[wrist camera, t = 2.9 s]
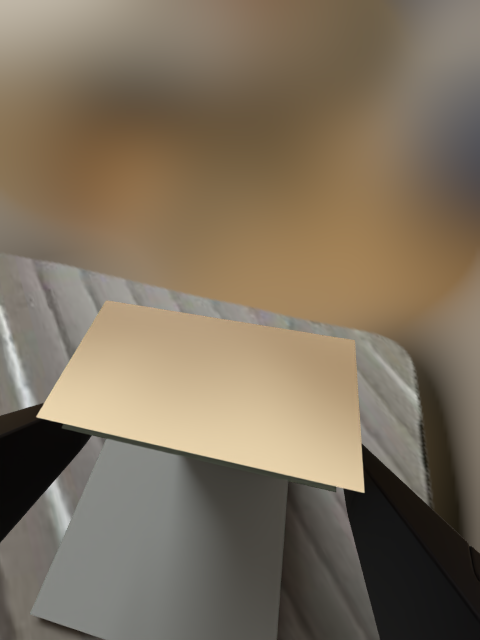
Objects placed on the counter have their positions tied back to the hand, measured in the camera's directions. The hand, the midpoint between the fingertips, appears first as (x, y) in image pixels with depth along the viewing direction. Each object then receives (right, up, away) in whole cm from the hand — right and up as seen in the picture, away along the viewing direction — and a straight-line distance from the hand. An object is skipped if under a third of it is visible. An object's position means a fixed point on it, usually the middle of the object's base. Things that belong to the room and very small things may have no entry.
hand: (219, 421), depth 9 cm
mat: (-2, -5, +7) cm, 8 cm away
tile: (0, -4, +7) cm, 8 cm away
